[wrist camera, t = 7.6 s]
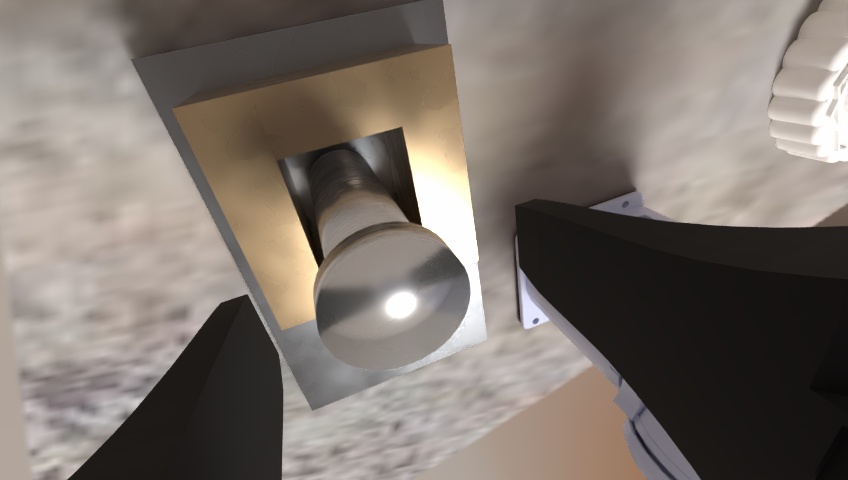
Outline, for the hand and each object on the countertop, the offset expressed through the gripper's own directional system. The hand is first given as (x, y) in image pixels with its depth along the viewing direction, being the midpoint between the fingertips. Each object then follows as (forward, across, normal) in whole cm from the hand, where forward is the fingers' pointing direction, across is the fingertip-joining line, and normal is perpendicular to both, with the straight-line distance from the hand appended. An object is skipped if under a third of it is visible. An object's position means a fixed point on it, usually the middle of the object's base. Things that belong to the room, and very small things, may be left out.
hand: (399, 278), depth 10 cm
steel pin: (+9, 0, 0) cm, 9 cm away
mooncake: (+11, -35, +3) cm, 37 cm away
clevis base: (+10, 0, +4) cm, 11 cm away
